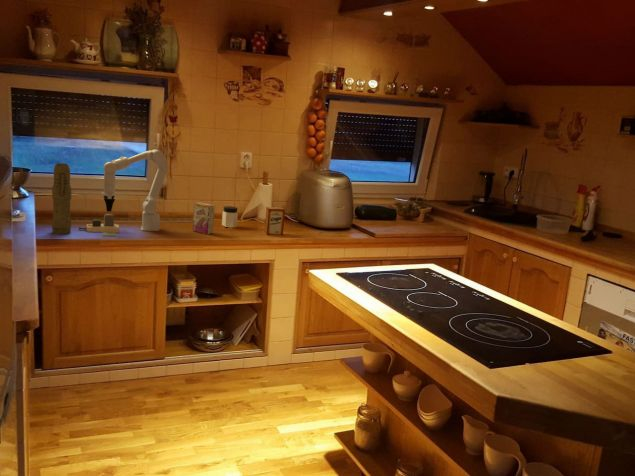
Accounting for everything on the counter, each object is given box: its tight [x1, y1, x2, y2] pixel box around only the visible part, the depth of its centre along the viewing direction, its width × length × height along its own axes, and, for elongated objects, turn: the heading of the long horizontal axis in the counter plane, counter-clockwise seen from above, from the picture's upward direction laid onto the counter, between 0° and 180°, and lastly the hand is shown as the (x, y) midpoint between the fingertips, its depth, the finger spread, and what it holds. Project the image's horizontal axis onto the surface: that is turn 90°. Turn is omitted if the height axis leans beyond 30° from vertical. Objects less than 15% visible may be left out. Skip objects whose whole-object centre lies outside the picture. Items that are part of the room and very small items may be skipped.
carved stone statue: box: [51, 162, 72, 235], centre depth 303 cm, size 9×12×35 cm
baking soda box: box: [264, 206, 286, 236], centre depth 349 cm, size 10×6×16 cm
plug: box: [91, 218, 102, 226], centre depth 317 cm, size 4×4×3 cm
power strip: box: [78, 223, 120, 233], centre depth 318 cm, size 20×8×3 cm, turn 111°
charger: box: [103, 213, 115, 226], centre depth 319 cm, size 4×4×6 cm
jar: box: [221, 205, 239, 228], centre depth 359 cm, size 9×8×12 cm
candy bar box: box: [192, 201, 215, 235], centre depth 336 cm, size 11×5×16 cm, turn 59°
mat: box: [101, 232, 118, 237], centre depth 311 cm, size 7×7×1 cm
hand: (108, 210), depth 321 cm, fingers open, 7 cm apart
